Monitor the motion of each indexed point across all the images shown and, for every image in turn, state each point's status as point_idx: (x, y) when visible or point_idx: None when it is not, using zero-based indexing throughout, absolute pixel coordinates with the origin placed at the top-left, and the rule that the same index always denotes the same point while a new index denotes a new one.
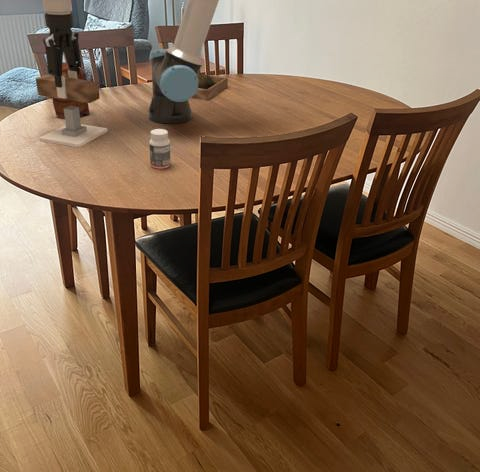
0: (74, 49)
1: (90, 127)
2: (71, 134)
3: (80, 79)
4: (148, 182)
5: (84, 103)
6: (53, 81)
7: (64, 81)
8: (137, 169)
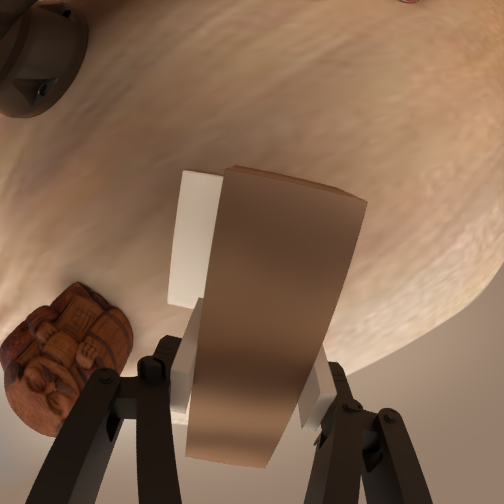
0: (83, 489)
1: (191, 228)
2: None
3: (202, 315)
4: (473, 16)
5: (70, 304)
6: (291, 414)
7: (320, 369)
8: (436, 30)
